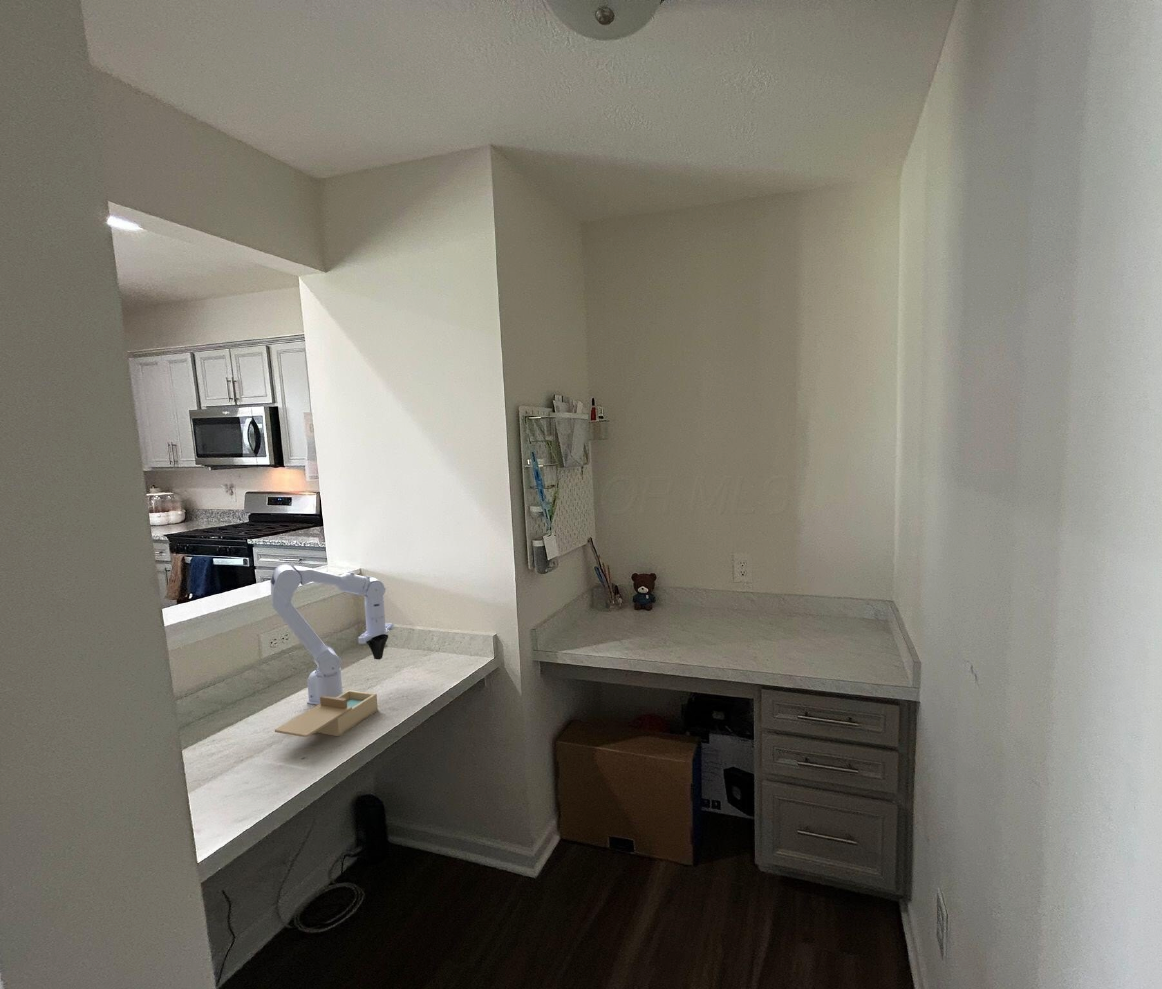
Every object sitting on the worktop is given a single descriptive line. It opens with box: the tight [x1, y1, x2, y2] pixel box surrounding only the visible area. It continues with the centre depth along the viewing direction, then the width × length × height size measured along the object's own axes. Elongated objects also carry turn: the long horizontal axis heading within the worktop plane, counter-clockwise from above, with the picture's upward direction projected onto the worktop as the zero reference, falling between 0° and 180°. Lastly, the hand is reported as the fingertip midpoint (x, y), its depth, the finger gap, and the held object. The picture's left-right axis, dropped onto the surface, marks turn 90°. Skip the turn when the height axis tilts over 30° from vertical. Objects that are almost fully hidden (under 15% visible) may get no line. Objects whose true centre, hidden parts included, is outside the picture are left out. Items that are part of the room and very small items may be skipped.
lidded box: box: [315, 689, 379, 737], centre depth 176 cm, size 16×10×5 cm, turn 160°
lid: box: [274, 695, 352, 738], centre depth 165 cm, size 16×10×3 cm, turn 160°
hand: (378, 658), depth 197 cm, fingers closed
